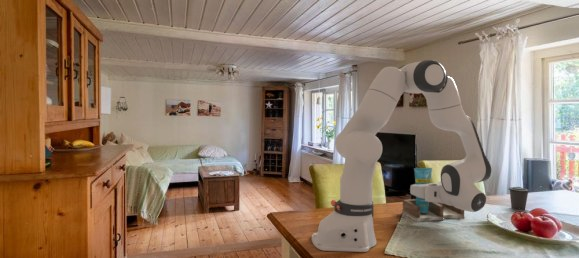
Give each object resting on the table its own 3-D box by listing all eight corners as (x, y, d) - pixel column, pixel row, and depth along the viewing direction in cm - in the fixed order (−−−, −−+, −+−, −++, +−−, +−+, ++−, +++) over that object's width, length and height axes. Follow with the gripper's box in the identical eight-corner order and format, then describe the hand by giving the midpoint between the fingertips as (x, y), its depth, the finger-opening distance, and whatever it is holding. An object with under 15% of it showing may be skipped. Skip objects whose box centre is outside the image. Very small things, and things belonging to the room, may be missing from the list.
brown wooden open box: (416, 221, 134) (416, 207, 133) (402, 212, 146) (402, 199, 145) (443, 220, 135) (443, 206, 135) (427, 211, 147) (427, 198, 147)
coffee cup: (522, 206, 156) (522, 185, 156) (532, 211, 148) (533, 189, 148) (504, 205, 157) (504, 185, 157) (514, 210, 149) (514, 189, 149)
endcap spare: (438, 218, 137) (438, 205, 137) (423, 210, 149) (423, 197, 149) (464, 217, 139) (464, 204, 138) (447, 209, 150) (447, 197, 150)
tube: (416, 213, 138) (416, 168, 137) (411, 210, 143) (412, 167, 142) (433, 213, 138) (434, 168, 137) (428, 209, 143) (428, 166, 142)
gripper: (466, 182, 130) (441, 176, 144) (424, 186, 124) (402, 179, 138) (466, 198, 131) (440, 190, 144) (424, 202, 125) (401, 194, 138)
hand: (421, 185), depth 141 cm, fingers closed on tube, 6 cm apart
